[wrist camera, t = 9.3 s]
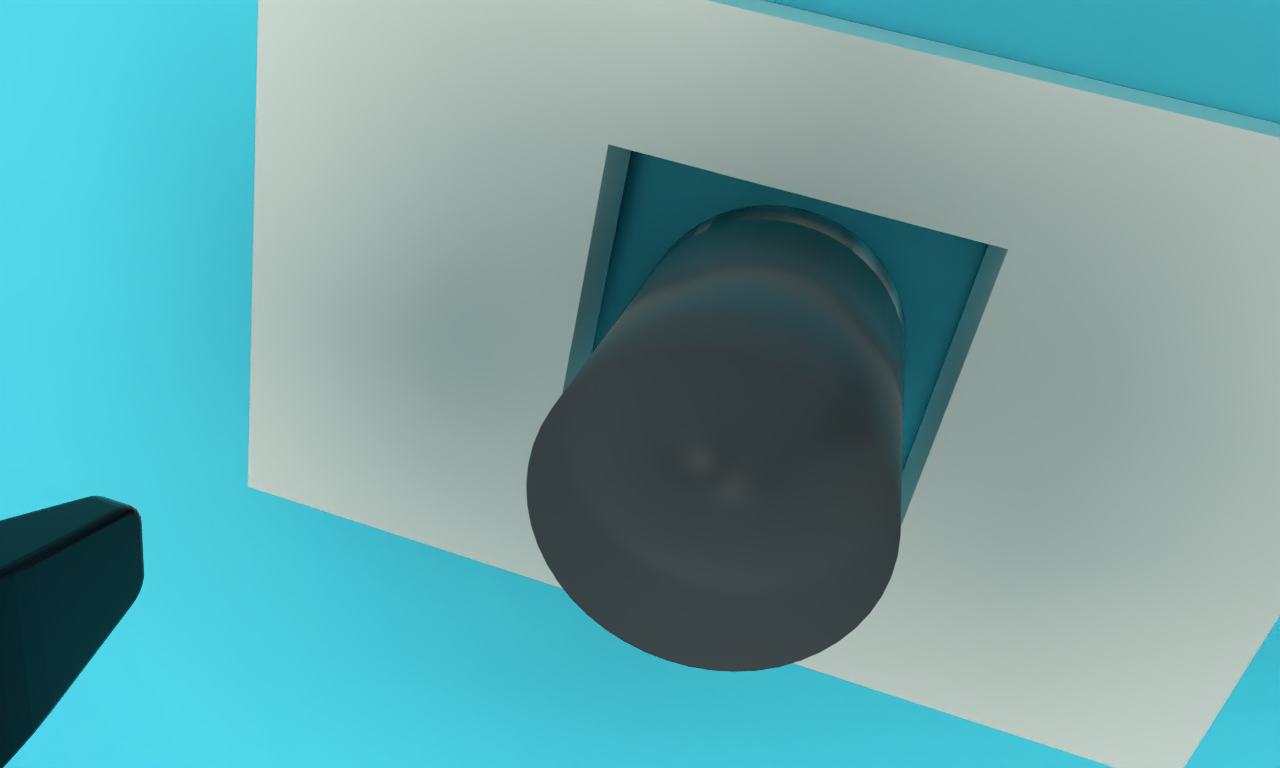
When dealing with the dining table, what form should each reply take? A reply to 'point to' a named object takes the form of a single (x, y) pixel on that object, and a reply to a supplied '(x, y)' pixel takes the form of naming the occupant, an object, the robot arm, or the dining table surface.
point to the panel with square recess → (840, 174)
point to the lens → (733, 448)
